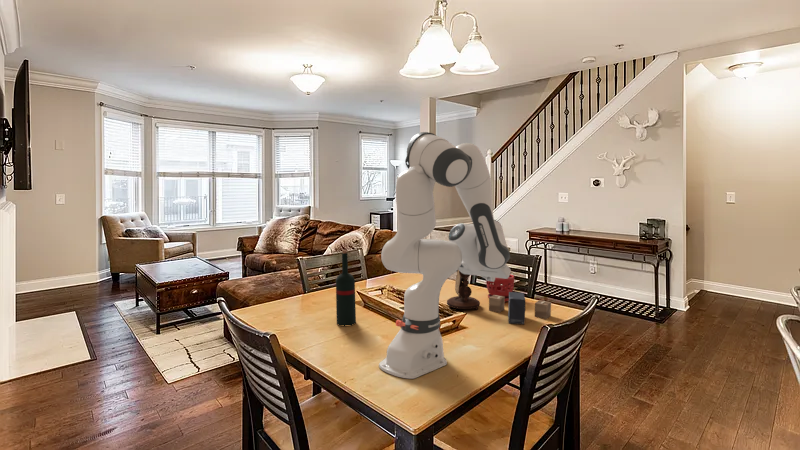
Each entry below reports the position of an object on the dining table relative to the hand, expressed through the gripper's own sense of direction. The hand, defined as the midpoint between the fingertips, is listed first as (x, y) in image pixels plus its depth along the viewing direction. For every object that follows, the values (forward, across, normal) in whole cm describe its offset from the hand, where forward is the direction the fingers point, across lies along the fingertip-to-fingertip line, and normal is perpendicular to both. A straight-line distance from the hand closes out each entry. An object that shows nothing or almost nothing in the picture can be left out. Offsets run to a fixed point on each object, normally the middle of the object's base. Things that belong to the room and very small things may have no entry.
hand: (491, 279), depth 157 cm
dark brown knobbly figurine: (+25, +25, +2) cm, 35 cm away
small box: (+26, -1, +3) cm, 26 cm away
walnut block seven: (+30, +12, -2) cm, 32 cm away
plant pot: (+40, +19, -13) cm, 47 cm away
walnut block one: (+34, -7, -5) cm, 35 cm away
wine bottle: (-11, +49, +34) cm, 61 cm away
